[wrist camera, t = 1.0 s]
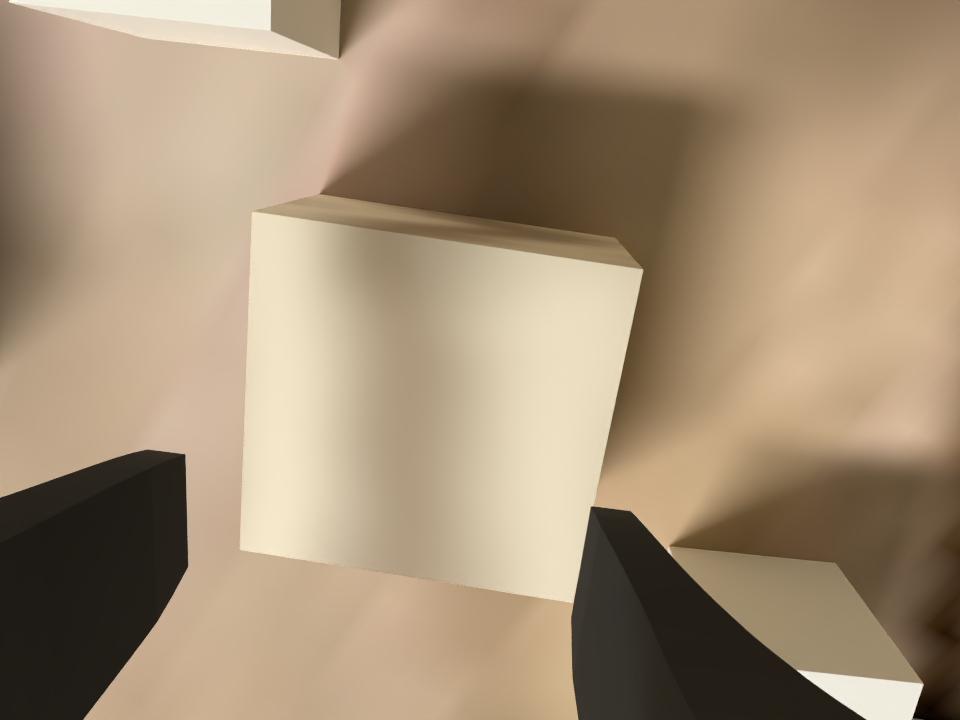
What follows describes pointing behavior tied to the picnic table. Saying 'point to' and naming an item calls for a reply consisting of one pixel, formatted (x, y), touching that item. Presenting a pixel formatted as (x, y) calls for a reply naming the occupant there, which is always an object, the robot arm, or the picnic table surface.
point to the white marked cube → (811, 626)
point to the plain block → (429, 391)
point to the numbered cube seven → (215, 22)
